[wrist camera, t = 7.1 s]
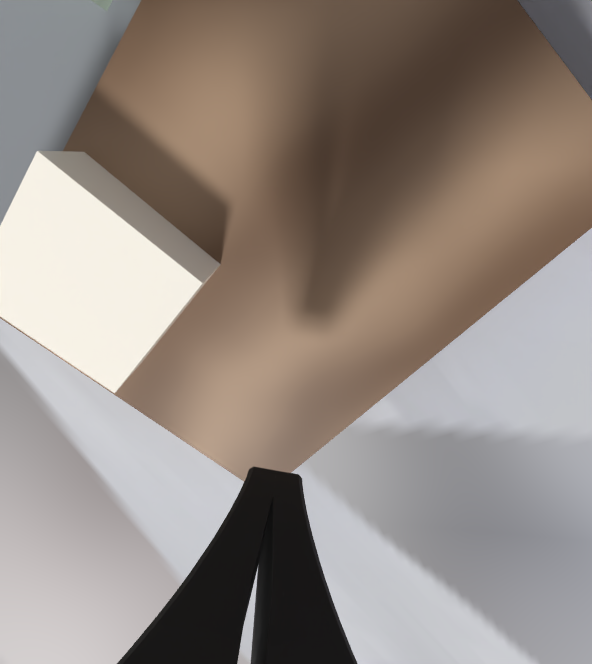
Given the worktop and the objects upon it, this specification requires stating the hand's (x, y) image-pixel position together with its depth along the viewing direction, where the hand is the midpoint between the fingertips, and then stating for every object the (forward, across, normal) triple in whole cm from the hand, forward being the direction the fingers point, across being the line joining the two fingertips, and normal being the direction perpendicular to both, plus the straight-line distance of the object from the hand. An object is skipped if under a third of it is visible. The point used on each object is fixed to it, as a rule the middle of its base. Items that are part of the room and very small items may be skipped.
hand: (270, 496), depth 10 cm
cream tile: (+4, +6, -4) cm, 9 cm away
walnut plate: (+6, +1, -6) cm, 9 cm away
